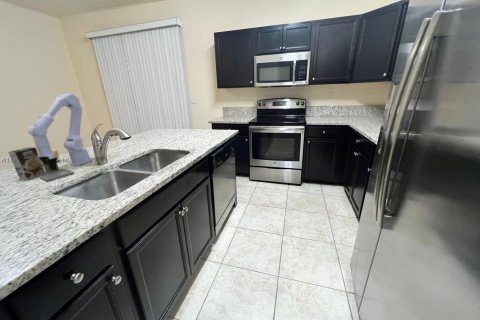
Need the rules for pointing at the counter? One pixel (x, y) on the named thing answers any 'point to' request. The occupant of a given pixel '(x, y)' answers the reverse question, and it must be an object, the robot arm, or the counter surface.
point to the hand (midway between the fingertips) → (51, 168)
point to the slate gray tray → (56, 175)
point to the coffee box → (27, 163)
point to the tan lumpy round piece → (55, 154)
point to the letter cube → (49, 168)
